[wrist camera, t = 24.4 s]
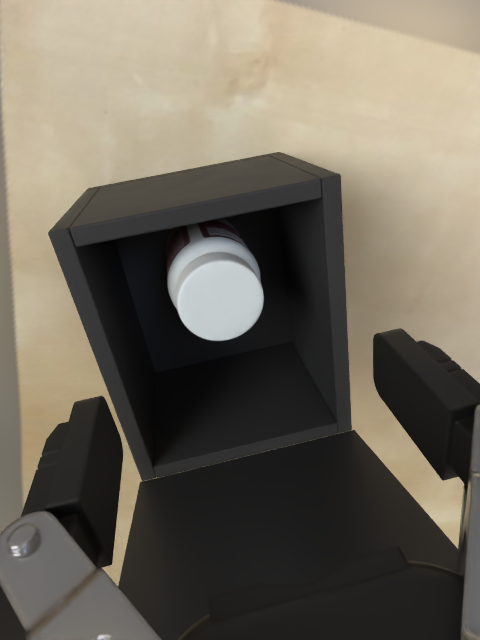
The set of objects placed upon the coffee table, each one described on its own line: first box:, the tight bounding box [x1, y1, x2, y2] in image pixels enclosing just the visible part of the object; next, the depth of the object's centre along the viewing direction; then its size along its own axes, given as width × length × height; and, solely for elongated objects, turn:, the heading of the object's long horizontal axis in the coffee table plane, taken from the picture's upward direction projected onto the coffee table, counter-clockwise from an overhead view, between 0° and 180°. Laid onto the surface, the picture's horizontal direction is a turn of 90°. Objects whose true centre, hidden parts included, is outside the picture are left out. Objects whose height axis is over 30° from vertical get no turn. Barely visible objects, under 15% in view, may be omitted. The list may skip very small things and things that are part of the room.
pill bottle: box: [166, 218, 264, 341], centre depth 23 cm, size 5×5×8 cm
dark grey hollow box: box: [48, 152, 352, 481], centre depth 24 cm, size 14×12×10 cm
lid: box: [118, 430, 458, 640], centre depth 16 cm, size 14×12×5 cm
